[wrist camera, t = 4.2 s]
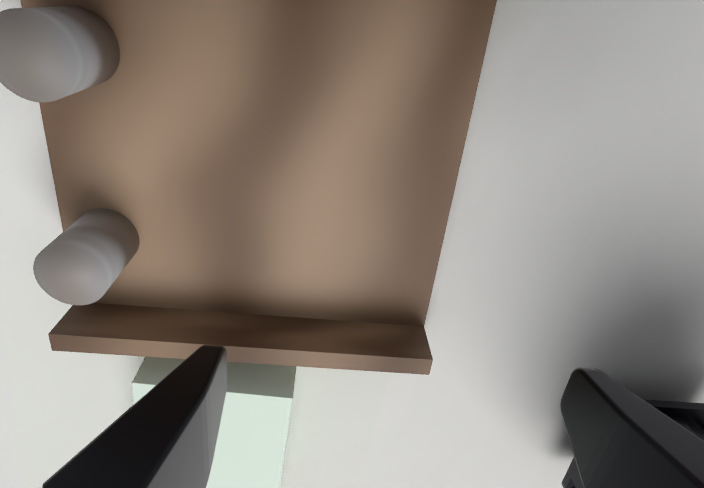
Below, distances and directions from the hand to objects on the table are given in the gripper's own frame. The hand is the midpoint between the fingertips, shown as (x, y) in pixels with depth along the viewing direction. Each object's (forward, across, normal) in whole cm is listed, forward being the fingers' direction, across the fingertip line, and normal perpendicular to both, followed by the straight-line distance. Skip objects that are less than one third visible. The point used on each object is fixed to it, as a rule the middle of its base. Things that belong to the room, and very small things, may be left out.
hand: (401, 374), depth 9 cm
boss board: (+11, +4, 0) cm, 12 cm away
